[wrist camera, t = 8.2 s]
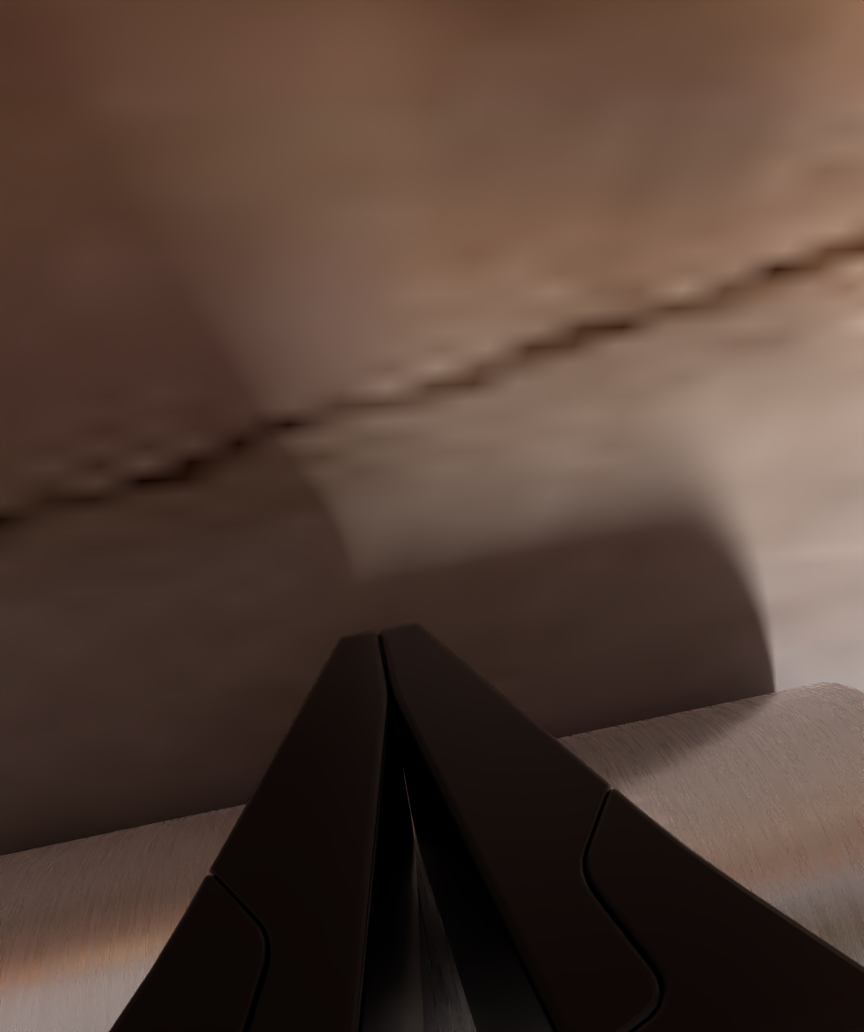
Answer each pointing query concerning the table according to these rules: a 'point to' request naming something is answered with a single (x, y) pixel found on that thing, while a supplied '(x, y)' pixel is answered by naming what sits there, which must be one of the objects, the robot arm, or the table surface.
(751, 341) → the table surface
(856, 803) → the air tube
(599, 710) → the table surface
